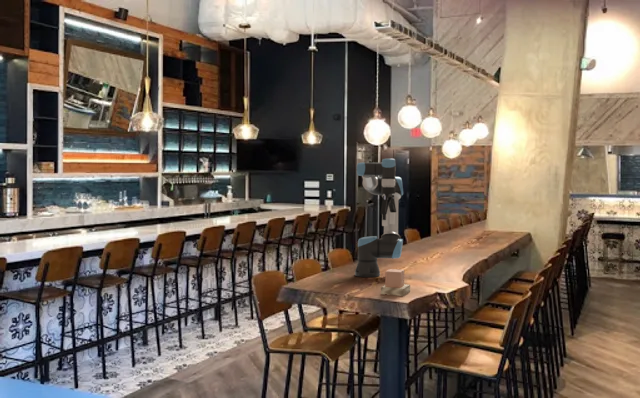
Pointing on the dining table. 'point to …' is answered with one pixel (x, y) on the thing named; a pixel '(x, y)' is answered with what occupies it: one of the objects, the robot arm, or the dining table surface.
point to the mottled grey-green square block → (395, 290)
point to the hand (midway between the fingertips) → (388, 225)
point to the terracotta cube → (394, 278)
